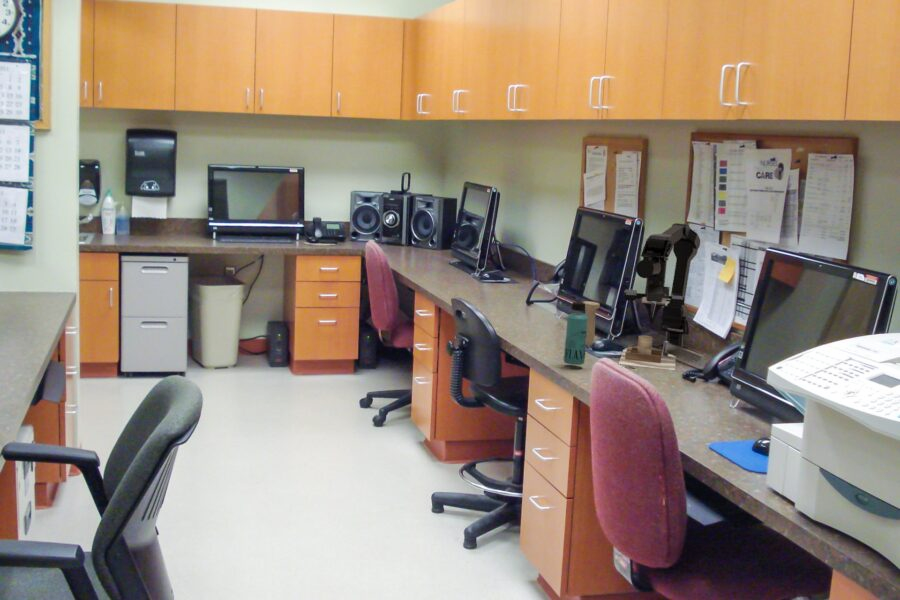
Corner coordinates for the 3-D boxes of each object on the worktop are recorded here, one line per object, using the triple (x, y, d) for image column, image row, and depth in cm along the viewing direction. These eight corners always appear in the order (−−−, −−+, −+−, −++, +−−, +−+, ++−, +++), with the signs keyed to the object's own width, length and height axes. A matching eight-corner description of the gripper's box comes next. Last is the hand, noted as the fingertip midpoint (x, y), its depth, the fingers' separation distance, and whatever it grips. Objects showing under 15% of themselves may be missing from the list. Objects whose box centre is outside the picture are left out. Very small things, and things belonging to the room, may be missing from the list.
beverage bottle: (560, 367, 295) (565, 302, 292) (566, 363, 301) (571, 299, 298) (581, 370, 293) (586, 305, 290) (586, 366, 299) (592, 302, 296)
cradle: (623, 352, 322) (623, 343, 322) (675, 358, 318) (676, 349, 318) (618, 366, 301) (619, 357, 300) (674, 373, 297) (675, 363, 297)
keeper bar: (661, 354, 317) (662, 340, 316) (666, 354, 317) (667, 340, 317) (699, 369, 298) (700, 355, 297) (704, 369, 299) (705, 355, 298)
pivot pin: (637, 354, 315) (639, 335, 314) (651, 356, 314) (653, 336, 313) (636, 357, 311) (638, 337, 310) (650, 359, 310) (652, 339, 309)
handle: (588, 344, 332) (592, 301, 329) (598, 348, 326) (602, 304, 323) (576, 345, 330) (580, 301, 327) (586, 349, 324) (589, 304, 321)
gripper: (625, 276, 301) (621, 325, 304) (687, 281, 298) (682, 331, 301) (626, 271, 312) (622, 319, 315) (686, 276, 309) (681, 325, 311)
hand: (651, 324), depth 310 cm, fingers closed
